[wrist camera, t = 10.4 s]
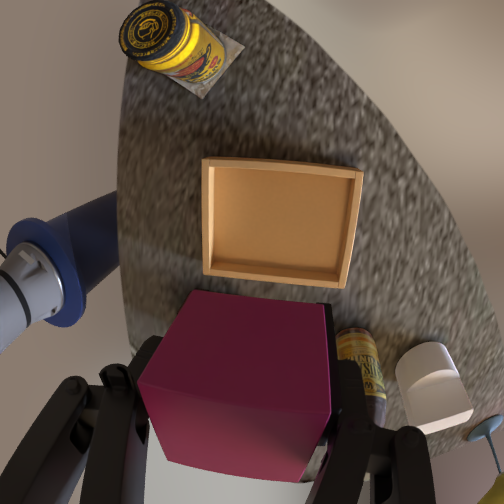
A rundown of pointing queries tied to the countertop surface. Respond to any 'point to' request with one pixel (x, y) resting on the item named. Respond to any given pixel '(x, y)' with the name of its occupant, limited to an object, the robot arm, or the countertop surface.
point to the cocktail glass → (500, 495)
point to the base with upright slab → (432, 388)
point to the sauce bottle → (365, 370)
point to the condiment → (177, 45)
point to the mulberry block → (241, 386)
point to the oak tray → (279, 220)
